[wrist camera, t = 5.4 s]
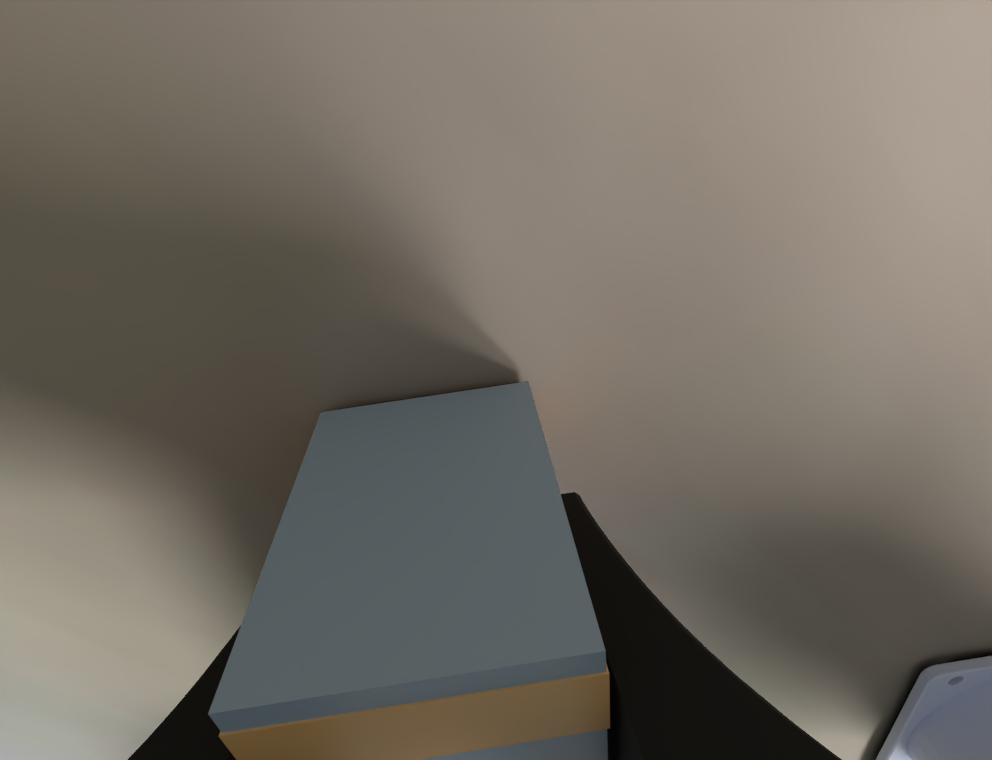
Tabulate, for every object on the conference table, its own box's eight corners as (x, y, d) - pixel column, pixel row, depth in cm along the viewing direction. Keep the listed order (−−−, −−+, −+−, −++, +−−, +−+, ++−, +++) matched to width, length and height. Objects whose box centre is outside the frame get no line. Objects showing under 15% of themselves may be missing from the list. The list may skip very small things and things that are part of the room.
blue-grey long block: (529, 380, 11) (609, 653, 6) (563, 724, 18) (613, 988, 13) (319, 411, 11) (203, 718, 6) (437, 745, 18) (434, 1018, 13)
